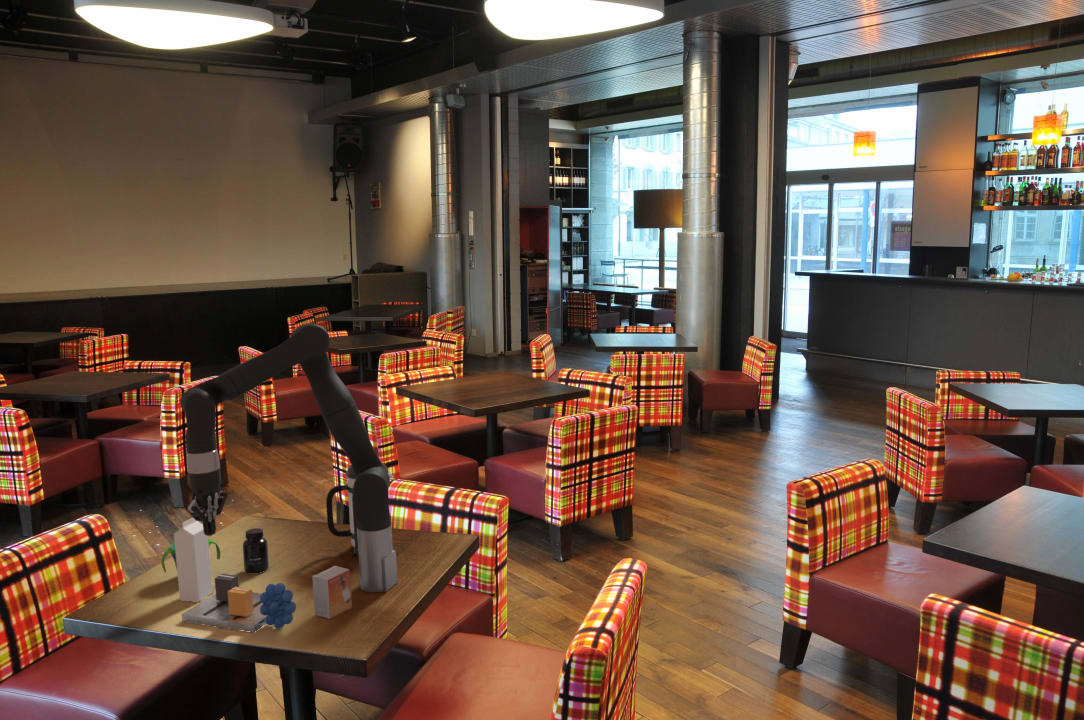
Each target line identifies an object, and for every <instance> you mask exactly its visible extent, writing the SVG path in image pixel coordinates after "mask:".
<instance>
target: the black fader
mask: <svg viewBox="0 0 1084 720" xmlns="http://www.w3.org/2000/svg"><path fill="white" fill-rule="evenodd" d="M214 587H215V588H214V589H215V594H216V600H220V601H227V602H228V591H229V590H231V589H232V588H234V587H240V582H239V575H235V574H227V573H221V574H219V575H218V576H216V577H215V578H214Z"/></svg>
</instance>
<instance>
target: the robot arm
mask: <svg viewBox="0 0 1084 720" xmlns="http://www.w3.org/2000/svg"><path fill="white" fill-rule="evenodd" d="M330 344H331V339H330V334H329V332H328V331H327V330H326V328H324V327H323V326H322V325H319V324H315V323H306V324H303V325H299V326H298V327H296V328H294V330H292V332H291V334H290V337H288V339H286V340H285V341H283V342H282V343H280V344H279V345H277V346H275V347H273V348H271V349H270V350H268V351H266V352H264V353H261V354H259V355H257V356H254V357H252V358H250V359H248V360H245V361H244V362H241V363H238V364H237V365H235V366H234V367H232V368H230V369H228V370H226V371H225V372H223V373H221V374H219V375H217V376H216V377H213V378H211V379H208V380H205V381H203V382H201V383H199V384H196V385H193V386H192V387H190V388H189V389H187V390H185V391H184V392H183V394H182V395H181V397H180V401H179V406H180V408H181V409H182V411H183V412H184V413H185V421H186V431H185V447H186V448H185V449H186V468H187V469H186V470H187V478H188V487H189V489H191V491H192V495H191V502H190V504H189V505H186V506H185V508H184V509H185V511H186V512H187V513H188V514H189V515H190V516H191V518H192V517H193V518H194V519H195V520H196V521H199V522H202V524H203V531H204V534H205V535H207V536H208V537H211V536H213V535H215V534H216V531H217V526H216V525H217V524H216V519H217V517H218V516H220V515H221V513H222V511H223V509H224V506H225V502H226V500H227V499H228V498H227V497H228V492H225V491H222V490H221V487H220V486H221V484H222V475H221V463H220V456H219V453H218V444H217V443H218V442H217V435H216V434H217V433H216V417H217V416H216V415H217V414H216V413H217V412H216V406H218V405H219V404H222V403H224V402H226V401H232V400H235V399H238V398H239V397H241V396H243V395H245V394H246V393H248V392H251V390H253V389H255V388H257V387H258V386H260V385H261V384H264V383H265V382H267V381H269V380H270V379H271V378H274V377H275V376H276V375H278V374H280V373H282V372H284V371H285V370H288V369H290V368H292V367H294V366H296V365H299V366H300V367H301V369H302V371H303V373H304V374H305V377H306V379H307V380H308V383H309V385H310V389H311V391H312V394H313V396H314V398H315V399H314V400H315V402H316V404H317V406H318V408H319V411H320V413H321V416H322V418H323V420H324V422H325V425H326V427H327V429H328V430H329V433H330V435H331V436H332V438H333V439H334V440H335V442H337V444H338V445H339V446H340V448H341V450H343V451H344V454H345V455H346V456H347V458H348V460H349V462H350V465H352V468H353V471H354V474H355V477H356V480H355V482H354V485H353V499H354V511H355V519H356V522H357V537H358V550H357V551H358V554H359V556H358V569H359V582H360V583H359V584H360V585H359V586H360V589H361V590H362V591H364V592H367V593H379V592H380V593H381V592H388V591H389V590H390V589H392V588H393V587H394V586H395V585H397V584H398V570H397V569H398V567H397V551H396V550H395V549H393V530H392V515H391V512H390V500H389V489H390V486H391V478H389V475H388V473H387V471H386V469H385V467H384V466H383V464H382V463H383V462H382V461H381V459H380V457H379V456H378V454H377V452H376V451H375V448H374V446H373V444H372V441H371V438H370V437H369V433H368V431H367V428H366V425H365V423H364V421H363V417H362V415H361V413H360V410H359V409H358V406H357V403H356V401H355V400H354V399H355V398H353V395H352V394H351V392H350V391H349V389H348V388H347V386H346V385H345V383H344V381H342V380H341V378H340V377H339V376H338V374H337V373H336V371H335V369H334V368H333V365H332V363H331V360H330V358H329V355H328V352H327V351H328V349H329V347H330Z"/></svg>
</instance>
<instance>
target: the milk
mask: <svg viewBox="0 0 1084 720" xmlns="http://www.w3.org/2000/svg"><path fill="white" fill-rule="evenodd" d="M181 523H182V525H181V527H182V528H180V529H179V530H177V531H175V532H174V533H173V539H174V540H173V541H174V542H175V552H176V562H177V569H176V572H177V582H178V583H177V584H178V592H179V600H180V601H181V602H189V601H192V602H191V603H200V602H199V601H201V600H202V599H204V598H205V597H206V596H208V595H209V594H211V593H212V592H213V593H214V589H213V580H212V579H213V578H212V568H211V567H212V566H211V558H210V557H211V556H210V555H211V554H210V546H209V543H208V539H209V536H207V535H205V534H204V531H203V523H201V521H196V520H195V519H194V518H193V517H192V516H191V518H189V519H187V520H184V521H183V522H181ZM213 593H212V594H213ZM212 594H211V595H212ZM208 597H209V596H208ZM205 599H206V598H205ZM205 599H204V600H205ZM194 601H195V602H194ZM202 601H203V600H202ZM202 601H201V602H202Z"/></svg>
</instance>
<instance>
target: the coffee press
mask: <svg viewBox="0 0 1084 720" xmlns="http://www.w3.org/2000/svg"><path fill="white" fill-rule="evenodd" d="M382 464H383V466H384V467H385V469H386V471H387V473H388V475H389V478H390V479H394V475H393V474H392V472H390V471H389V468H388V467H387V465H386V464H385V463H384V462H382ZM345 477H346V481H347V482H346V484H338V485H336V486H333V487H332V488H330V490H329V491H328V493H327V495H326V500H325V501H326V504H325V505H326V521H327V527H328V531H329V532H330V533H331V534H332V535H334V536H335V537H340V538H341V537H342V538H343V537H345V538H346V537H350V543H351V546H352V547H353V551H352V556H354V557H359V554H358V537H357V522H356V519H355V511H354V499H353V485H354V482H355V480H356V477H355V474H354V471H353V468H352V465H351V464H350V465H349V466H348V467H347V469H346V471H345ZM342 491H344V492H345V491H346V492H347V496H348V510H349V512H348V514H349V529H346V530H339V529H337V528H336V527H335V523H334V511H333V508H334V507H333V498H334V496H335V494H336V493H339V492H342Z"/></svg>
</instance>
